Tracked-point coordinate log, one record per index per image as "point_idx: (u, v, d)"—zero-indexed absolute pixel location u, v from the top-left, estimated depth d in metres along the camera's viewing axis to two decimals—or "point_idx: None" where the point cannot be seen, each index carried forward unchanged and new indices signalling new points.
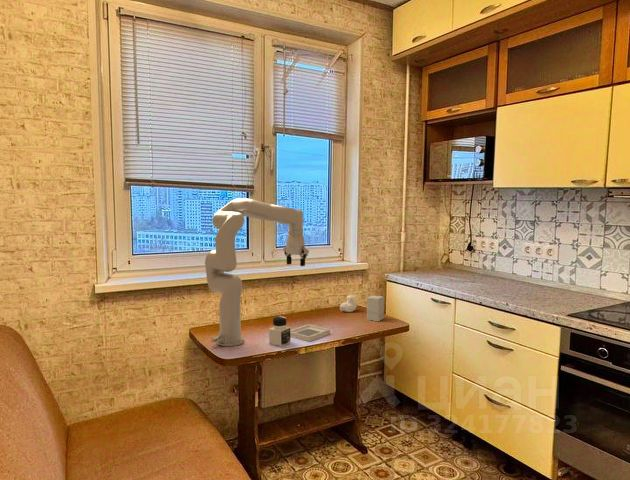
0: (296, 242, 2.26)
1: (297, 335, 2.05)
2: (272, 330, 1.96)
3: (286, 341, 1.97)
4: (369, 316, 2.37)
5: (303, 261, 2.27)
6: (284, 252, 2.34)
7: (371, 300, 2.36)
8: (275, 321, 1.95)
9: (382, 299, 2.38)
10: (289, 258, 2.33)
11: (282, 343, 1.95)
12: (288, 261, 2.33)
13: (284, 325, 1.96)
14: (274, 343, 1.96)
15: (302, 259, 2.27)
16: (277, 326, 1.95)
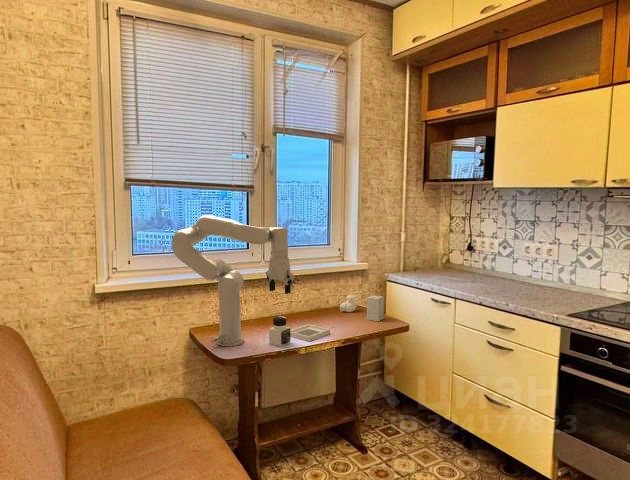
0: (280, 266, 1.92)
1: (297, 335, 2.05)
2: (272, 330, 1.96)
3: (286, 341, 1.97)
4: (369, 315, 2.37)
5: (288, 288, 1.92)
6: None
7: (371, 300, 2.36)
8: (275, 321, 1.95)
9: (382, 299, 2.38)
10: (272, 283, 1.99)
11: (282, 343, 1.95)
12: (271, 287, 1.99)
13: (284, 325, 1.96)
14: (274, 343, 1.96)
15: (287, 285, 1.92)
16: (277, 326, 1.95)
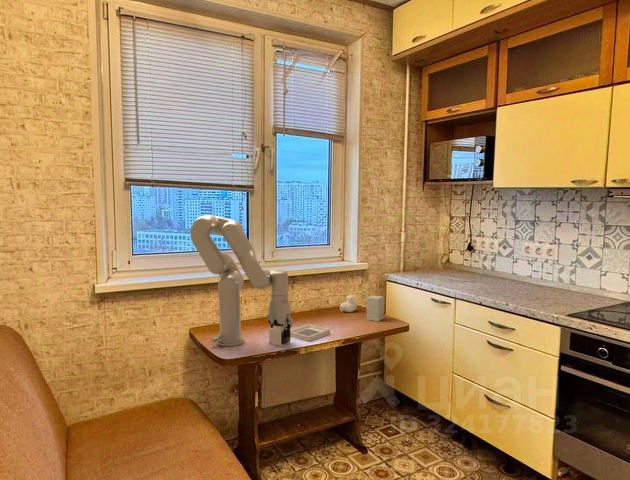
0: (280, 310, 1.94)
1: (297, 335, 2.05)
2: (272, 330, 1.96)
3: (286, 341, 1.97)
4: (369, 316, 2.37)
5: (287, 332, 1.95)
6: (268, 320, 2.02)
7: (371, 300, 2.36)
8: (275, 321, 1.95)
9: (382, 299, 2.38)
10: None
11: (282, 343, 1.94)
12: None
13: None
14: (274, 343, 1.96)
15: (286, 330, 1.95)
16: (277, 326, 1.95)
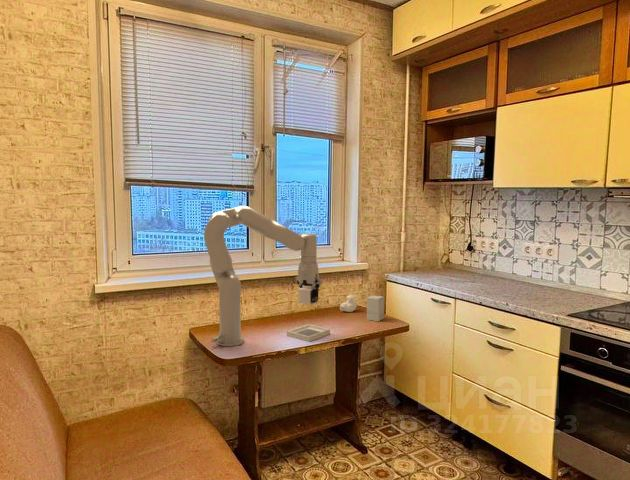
0: (309, 270, 2.05)
1: (297, 335, 2.05)
2: (301, 290, 2.07)
3: (315, 300, 2.08)
4: (369, 316, 2.37)
5: (316, 292, 2.06)
6: (297, 281, 2.13)
7: (371, 300, 2.36)
8: (304, 281, 2.07)
9: (382, 299, 2.38)
10: None
11: (311, 302, 2.06)
12: None
13: None
14: (303, 302, 2.07)
15: (314, 290, 2.06)
16: (306, 286, 2.06)
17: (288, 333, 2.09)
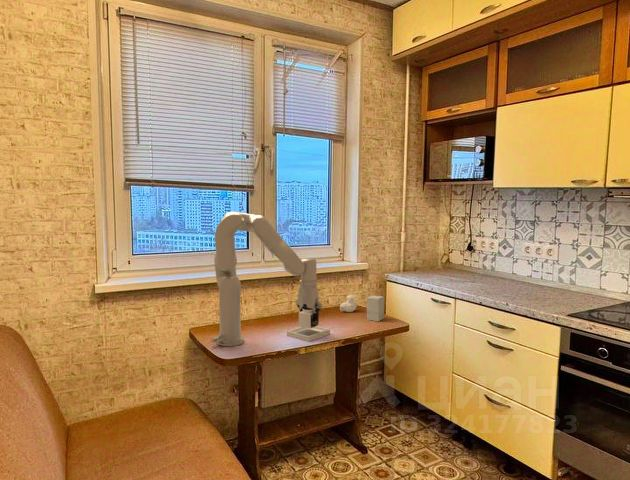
0: (309, 294, 2.06)
1: (297, 335, 2.05)
2: (302, 314, 2.08)
3: (315, 324, 2.09)
4: (369, 315, 2.37)
5: (316, 316, 2.07)
6: (297, 304, 2.14)
7: (371, 300, 2.36)
8: (304, 305, 2.08)
9: (382, 299, 2.38)
10: None
11: (311, 326, 2.07)
12: None
13: None
14: (304, 326, 2.08)
15: (315, 314, 2.07)
16: (306, 310, 2.07)
17: (288, 333, 2.09)
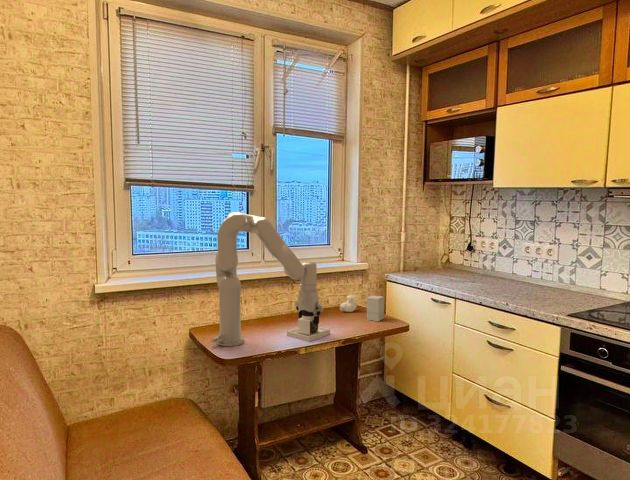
0: (309, 298, 2.06)
1: (297, 335, 2.05)
2: (301, 320, 2.08)
3: (314, 330, 2.09)
4: (369, 316, 2.37)
5: (317, 319, 2.06)
6: (296, 307, 2.14)
7: (371, 300, 2.36)
8: (304, 312, 2.08)
9: (382, 299, 2.38)
10: (301, 314, 2.13)
11: (311, 333, 2.07)
12: (300, 317, 2.13)
13: (312, 315, 2.08)
14: (303, 332, 2.08)
15: (316, 317, 2.06)
16: (306, 316, 2.08)
17: (288, 333, 2.09)
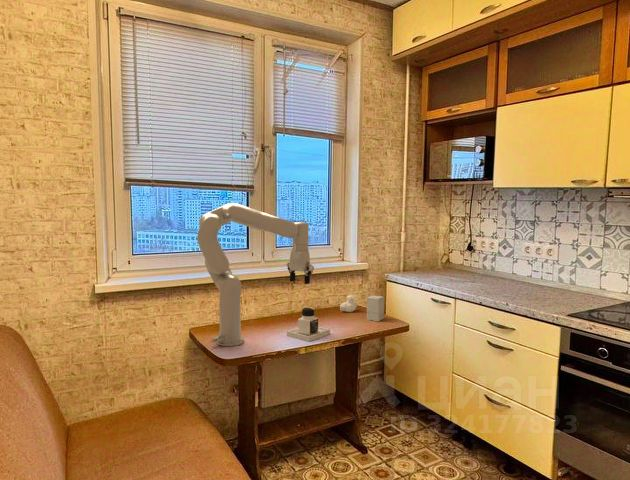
0: (300, 257, 2.07)
1: (297, 335, 2.05)
2: (301, 320, 2.08)
3: (314, 330, 2.09)
4: (369, 316, 2.37)
5: (308, 278, 2.07)
6: None
7: (371, 300, 2.36)
8: (304, 312, 2.08)
9: (382, 299, 2.38)
10: (293, 274, 2.14)
11: (311, 333, 2.07)
12: (291, 278, 2.14)
13: (312, 315, 2.08)
14: (303, 332, 2.08)
15: (306, 276, 2.07)
16: (306, 316, 2.08)
17: (288, 333, 2.09)
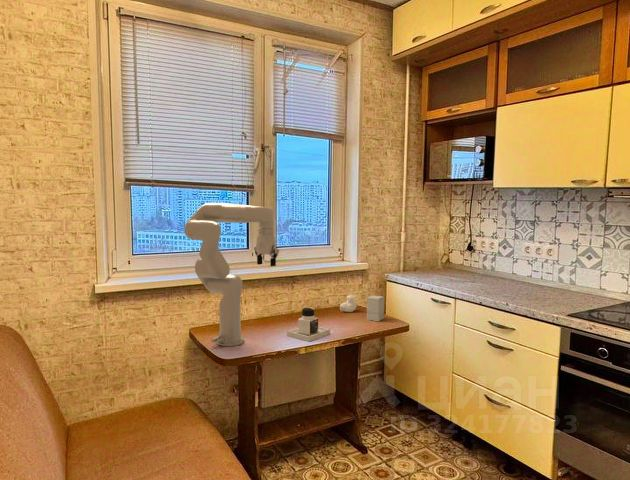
0: (266, 241, 2.16)
1: (297, 335, 2.05)
2: (301, 320, 2.08)
3: (314, 330, 2.09)
4: (369, 315, 2.37)
5: (273, 261, 2.17)
6: (255, 251, 2.25)
7: (371, 300, 2.36)
8: (304, 312, 2.08)
9: (382, 299, 2.38)
10: (260, 258, 2.24)
11: (311, 333, 2.07)
12: (259, 261, 2.23)
13: (312, 315, 2.08)
14: (303, 332, 2.08)
15: (272, 259, 2.17)
16: (306, 316, 2.08)
17: (288, 333, 2.09)
